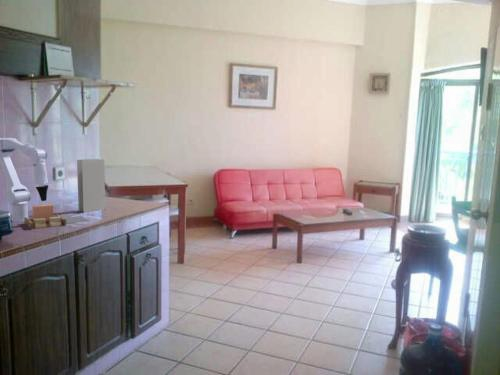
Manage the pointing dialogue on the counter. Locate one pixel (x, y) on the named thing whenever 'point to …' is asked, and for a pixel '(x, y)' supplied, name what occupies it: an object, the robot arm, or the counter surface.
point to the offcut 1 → (39, 223)
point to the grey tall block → (91, 185)
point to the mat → (75, 219)
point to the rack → (31, 224)
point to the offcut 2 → (54, 221)
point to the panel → (42, 211)
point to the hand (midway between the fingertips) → (43, 200)
